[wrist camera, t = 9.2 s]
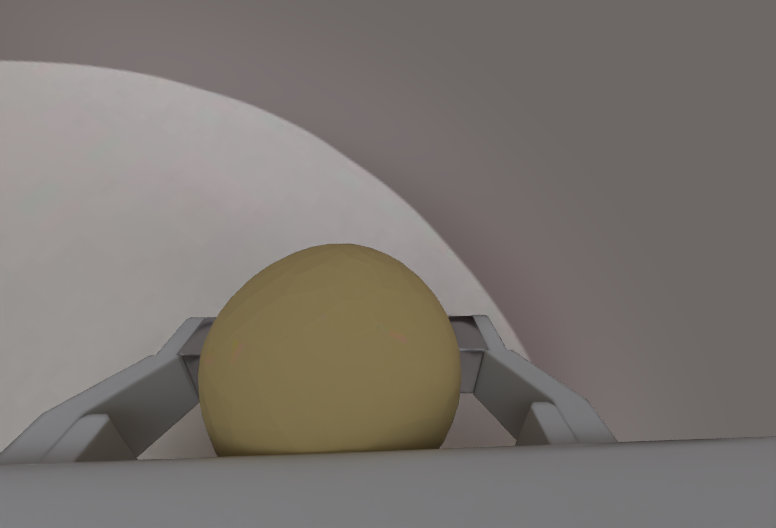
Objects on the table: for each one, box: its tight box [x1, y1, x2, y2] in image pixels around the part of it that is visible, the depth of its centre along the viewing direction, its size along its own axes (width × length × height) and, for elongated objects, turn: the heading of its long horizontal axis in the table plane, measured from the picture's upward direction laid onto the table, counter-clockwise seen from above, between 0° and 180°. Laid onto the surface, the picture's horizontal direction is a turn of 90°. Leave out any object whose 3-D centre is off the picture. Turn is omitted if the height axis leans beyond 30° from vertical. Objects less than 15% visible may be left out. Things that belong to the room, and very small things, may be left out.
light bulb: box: [198, 244, 462, 457], centre depth 10 cm, size 6×6×10 cm
